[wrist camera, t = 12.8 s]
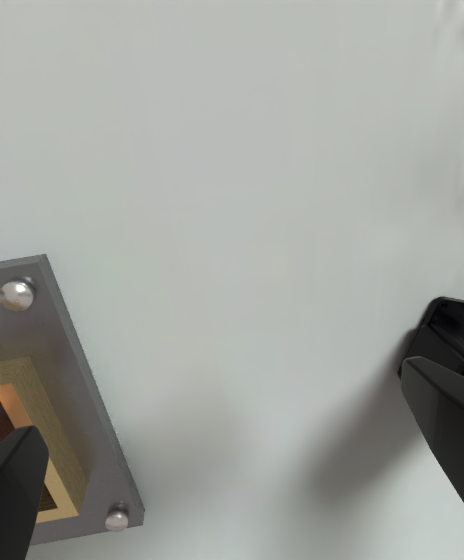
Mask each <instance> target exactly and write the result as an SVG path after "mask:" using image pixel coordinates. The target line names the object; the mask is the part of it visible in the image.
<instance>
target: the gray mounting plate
mask: <svg viewBox="0 0 464 560" xmlns="http://www.w3.org/2000/svg"><path fill="white" fill-rule="evenodd" d="M0 415H1V416H2V417H4V418H6V419H7V420H9V421H10V422H11V423H12V424H13V425H14V427H15V429H16V428H19V427H24V426H29V425H35V426H36V427H38V429H39V431H40V433H41V435H42V437H43V439H44V441H45V443H46V445H47V447H48V450H49V461H48V466H47V471H46V476H45V481H44V486H43V491H42V496H41V501H40V506H39V511H38V515H37V520H36V524H35V528H34V531H33V535H32V538H31V541H30V545H36V544H41V543H47V542H52V541H58V540H63V539H69V538H75V537H80V536H86V535H91V534H97V533H102V532H108V531H122V530H124V529H125V528H130V527H135V526H141V525H143V520H144V512H145V509H144V507H143V504H142V502H141V499H140V496H139V494H138V491H137V489H136V486H135V483H134V481H133V478H132V476H131V473H130V471H129V468H128V465H127V463H126V460H125V458H124V455H123V452H122V450H121V447H120V445H119V442H118V439H117V437H116V434H115V432H114V429H113V427H112V424H111V421H110V419H109V416H108V414H107V411H106V408H105V406H104V403H103V401H102V398H101V395H100V393H99V390H98V388H97V385H96V383H95V380H94V377H93V375H92V372H91V370H90V367H89V364H88V362H87V359H86V357H85V354H84V351H83V349H82V346H81V344H80V341H79V339H78V336H77V333H76V331H75V328H74V326H73V323H72V320H71V318H70V315H69V313H68V310H67V308H66V305H65V302H64V300H63V297H62V295H61V292H60V289H59V287H58V284H57V282H56V279H55V276H54V274H53V271H52V269H51V266H50V264H49V261H48V258H47V256H46V254H42V255H37V256H31V257H25V258H19V259H13V260H7V261H1V262H0ZM30 545H29V546H30Z"/></svg>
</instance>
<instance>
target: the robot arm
mask: <svg viewBox="0 0 464 560" xmlns="http://www.w3.org/2000/svg"><path fill="white" fill-rule="evenodd" d="M443 303H444V305H443V306H441V305H442V304H443ZM440 306H441V307H440ZM398 377H399V378H400V380H401V388H402V392H403V395H404V397H405V399H406V401H407V403H408V405H409V407H410V409H411V411H412V413H413V415H414V417H415V419H416V421H417V423H418V425H419V427H420V429H421V431H422V433H423V435H424V437H425V439H426V441H427V443H428V445H429V447H430V449H431V451H432V453H433V454H434V456H435V458H436V459H437V461H438V463H439V464H440V466H441V467H442V469H443V471H444V472H445V474H446V475H447V477H448V479H449V480H450V482H451V483H452V485H453V486H454V488H455V490H456V491H457V493H458V494H459V496H460V497H461V499H462V501H463V502H464V300H459V299H454V298H449V297H438V298H437V299H435V301H434V302H433V304H432V306H431V308H430V310H429V312H428V314H427V316H426V318H425V320H424V322H423V324H422V326H421V328H420V330H419V331H418V333H417V335H416V337H415V339H414V341H413V343H412V345H411V347H410V349H409V351H408V353H407V355H406V357H405V359H404V360H403V363H402V365H401V367H400V369H399V371H398ZM48 461H49V450H48V447H47V445H46V443H45V441H44V439H43V437H42V435H41V433H40V431H39V429H38V427H36V426H35V425H29V426H24V427H19V428H16V429H15V430H14V431H12V432H11V433H10V434H9V435H8V436H7V437H6V438H4V439H3V440H2V441H1V442H0V560H25V558H26V555H27V551H28V548H29V545H30V541H31V538H32V535H33V531H34V528H35V524H36V520H37V515H38V511H39V506H40V501H41V496H42V491H43V486H44V481H45V476H46V471H47V466H48Z"/></svg>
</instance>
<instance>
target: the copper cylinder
mask: <svg viewBox="0 0 464 560" xmlns="http://www.w3.org/2000/svg"><path fill="white" fill-rule="evenodd" d="M14 430H15V427H14V425H13V424H12V423H11V422H10V421H9V420H7V419H6V418H4V417H2V416H1V415H0V442H1V441H2V440H3V439H4V438H6V437H7V436H8V435H9V434H10V433H11V432H12V431H14Z"/></svg>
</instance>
